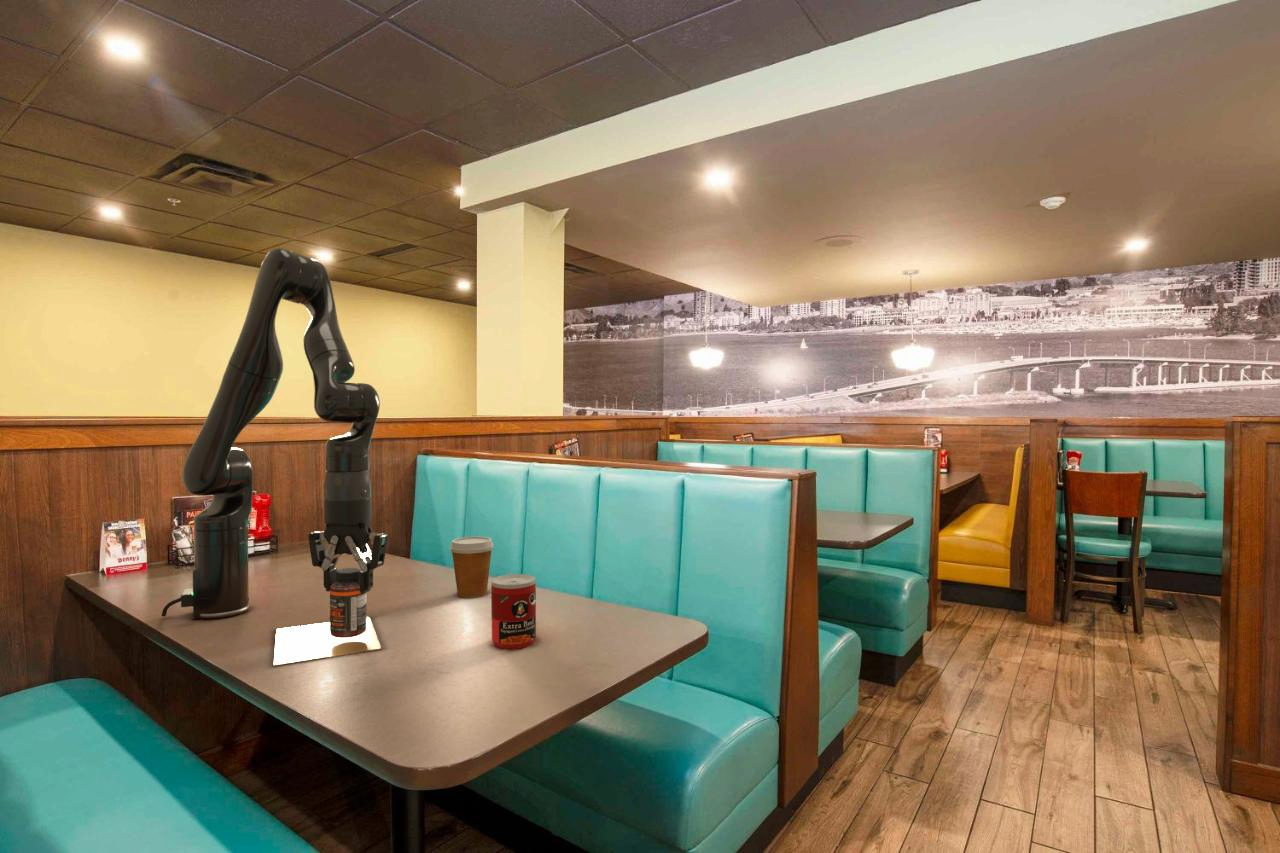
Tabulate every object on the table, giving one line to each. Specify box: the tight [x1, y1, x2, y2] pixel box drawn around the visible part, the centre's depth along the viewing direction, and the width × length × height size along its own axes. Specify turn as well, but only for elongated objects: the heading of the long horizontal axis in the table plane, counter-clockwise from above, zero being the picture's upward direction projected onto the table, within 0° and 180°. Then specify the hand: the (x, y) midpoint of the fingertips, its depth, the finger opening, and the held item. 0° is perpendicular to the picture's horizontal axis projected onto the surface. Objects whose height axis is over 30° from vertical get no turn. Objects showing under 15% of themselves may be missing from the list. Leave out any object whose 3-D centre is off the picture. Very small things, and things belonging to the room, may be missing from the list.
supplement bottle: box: [329, 567, 368, 638], centre depth 117 cm, size 6×6×11 cm
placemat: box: [273, 616, 382, 667], centre depth 118 cm, size 16×20×1 cm
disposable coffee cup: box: [449, 536, 495, 599], centre depth 147 cm, size 10×10×12 cm
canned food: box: [490, 573, 537, 650], centre depth 116 cm, size 8×8×11 cm
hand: (348, 590), depth 117 cm, fingers closed on supplement bottle, 6 cm apart
